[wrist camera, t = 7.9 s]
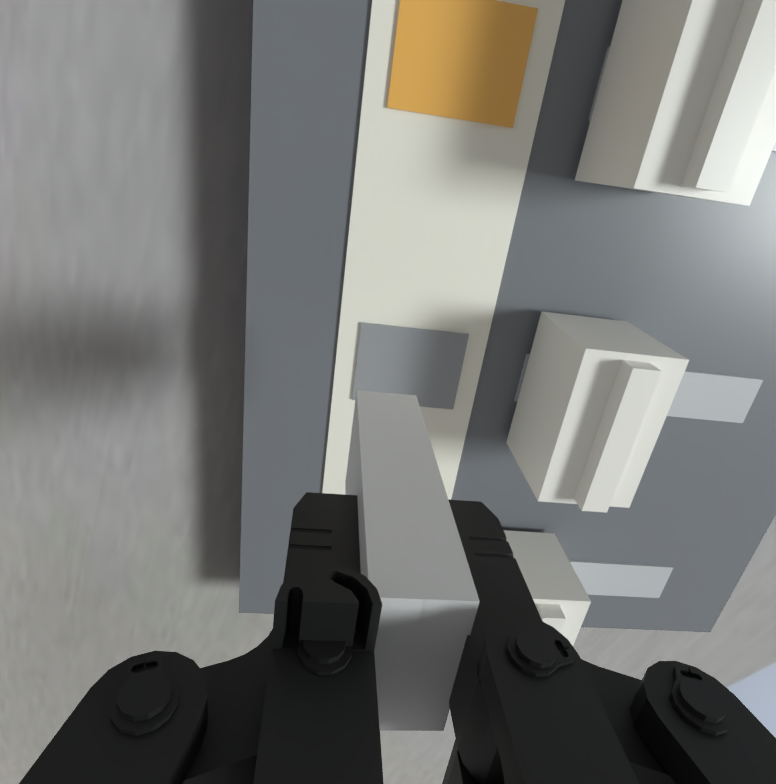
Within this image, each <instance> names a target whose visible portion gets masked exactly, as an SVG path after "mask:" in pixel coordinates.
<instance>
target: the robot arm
mask: <svg viewBox="0 0 776 784" xmlns="http://www.w3.org/2000/svg"><path fill="white" fill-rule="evenodd" d="M449 709H450V711H451V716H452V721H453V727H454V732H455V737H456V740H455V743H454V746H453V750H452V753H451V756H450V760H449V763H448V766H447V770H446V773H445V776H444V780H443V783H442V784H776V738H775V737H774V736H773V735H772V734H771V733H770V732H769V731H768V730H767V729H766V728H765V727H764V726H763V725H762V724H761V723H760V721H759V720H758V719H757V718H756V717H755V716H754V715H753V714H752V713H751V712H750V711H749V710H748V709H747V708H746V707H745V706H744V705H743V704H742V702H741V701H740V700H739V699H738V698H737V697H736V696H735V695H734V694H733V693H731V692H730V691H729V690H728V689H727V688H726V687H725V686H723V685H722V684H721V683H720V682H719V681H718V680H716V679H715V678H713V677H712V676H710V675H708V674H706V673H705V672H703V671H701V670H699V669H698V668H696V667H693V666H690V665H687V664H683V663H680V662H677V661H659V662H657V663H656V664H654V665H652V666H650V667H649V668H648V669H647V671H646V673H645V675H644V677H643V679H642V680H639V679H636V678H633V677H630V676H627V675H623V674H620V673H617V672H614V671H611V670H608V669H604V668H601V667H598V666H596V665H593V664H591V663H588V662H586V661H584V660H582V659H580V657H579V655H578V653H577V652H576V650H575V649H574V647H573V646H572V644H571V643H570V641H569V640H568V639H567V638H566V637H564V636H563V635H562V634H561V633H560V632H559V631H557V630H556V629H555V628H554V627H552V626H550V625H548V624H546V623H544V622H543V621H542V619H541V617H540V614H539V612H538V610H537V607H536V605H535V603H534V600H533V598H532V596H531V593H530V591H529V589H528V586H527V584H526V582H525V579H524V577H523V575H522V572H521V570H520V568H519V566H518V563H517V561H516V559H515V558H513V552H512V549H511V547H510V545H509V542H507V541H506V535H505V533H504V531H503V528H502V526H501V524H500V521H499V519H498V518H497V517H496V516H495V515H494V514H493V513H492V512H491V511H490V510H489V509H488V508H487V507H486V506H485V505H484V504H483V503H482V502H479V501H463V500H448V497H447V494H446V490H445V487H444V484H443V481H442V477H441V474H440V471H439V468H438V464H437V461H436V458H435V455H434V452H433V448H432V445H431V442H430V439H429V435H428V432H427V429H426V426H425V422H424V419H423V416H422V413H421V409H420V406H419V403H418V400H417V396H416V395H407V394H396V393H385V392H374V391H363V390H357V391H356V399H355V407H354V415H353V423H352V432H351V440H350V448H349V456H348V464H347V473H346V481H345V495H343V494H327V493H312V492H306V493H305V495H304V496H303V497H302V498H301V499H300V501H299V502H298V503H297V504H296V506H295V507H294V508H293V515H292V522H291V530H290V536H289V544H288V551H287V558H286V566H285V573H284V580H283V584H282V585H281V587H280V589H279V592H278V594H277V597H276V599H275V607H274V623H273V629H272V631H271V633H270V634H269V636H268V637H267V638H266V639H265V640H264V641H263V642H262V643H261V644H260V645H259V646H257V647H256V648H254V649H253V650H251V651H249V652H248V653H246V654H245V655H242V656H240V657H237V658H234V659H232V660H229V661H226V662H222V663H218V664H215V665H211V666H207V667H204V668H199V667H198V666H197V664H196V663H195V662H194V660H192V659H190V658H187V657H185V656H183V655H181V654H179V653H177V652H164V651H153V652H149V653H145V654H141V655H137V656H133V657H130V658H129V659H127V660H125V661H123V662H122V663H120V664H118V665H116V666H115V667H113V668H111V669H109V670H108V671H107V672H106V673H105V674H104V675H103V676H102V677H101V678H100V679H99V680H98V681H97V682H96V683H95V684H94V685H93V686H92V687H91V688H90V690H89V691H88V692H87V694H86V695H85V696H84V698H83V699H82V700H81V702H80V703H79V704H78V706H77V707H76V708H75V710H74V711H73V712H72V714H71V715H70V716H69V718H68V719H67V720H66V722H65V723H64V724H63V726H62V727H61V728H60V730H59V731H58V732H57V734H56V735H55V736H54V738H53V739H52V740H51V742H50V743H49V744H48V746H47V747H46V748H45V750H44V751H43V752H42V754H41V755H40V756H39V758H38V759H37V760H36V762H35V763H34V764H33V766H32V767H31V768H30V770H29V771H28V772H27V774H26V775H25V776H24V778H23V779H22V780H21V782H20V783H19V784H383V772H382V758H381V743H380V730H422V731H444V727H445V723H446V720H447V716H448V713H449Z"/></svg>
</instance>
